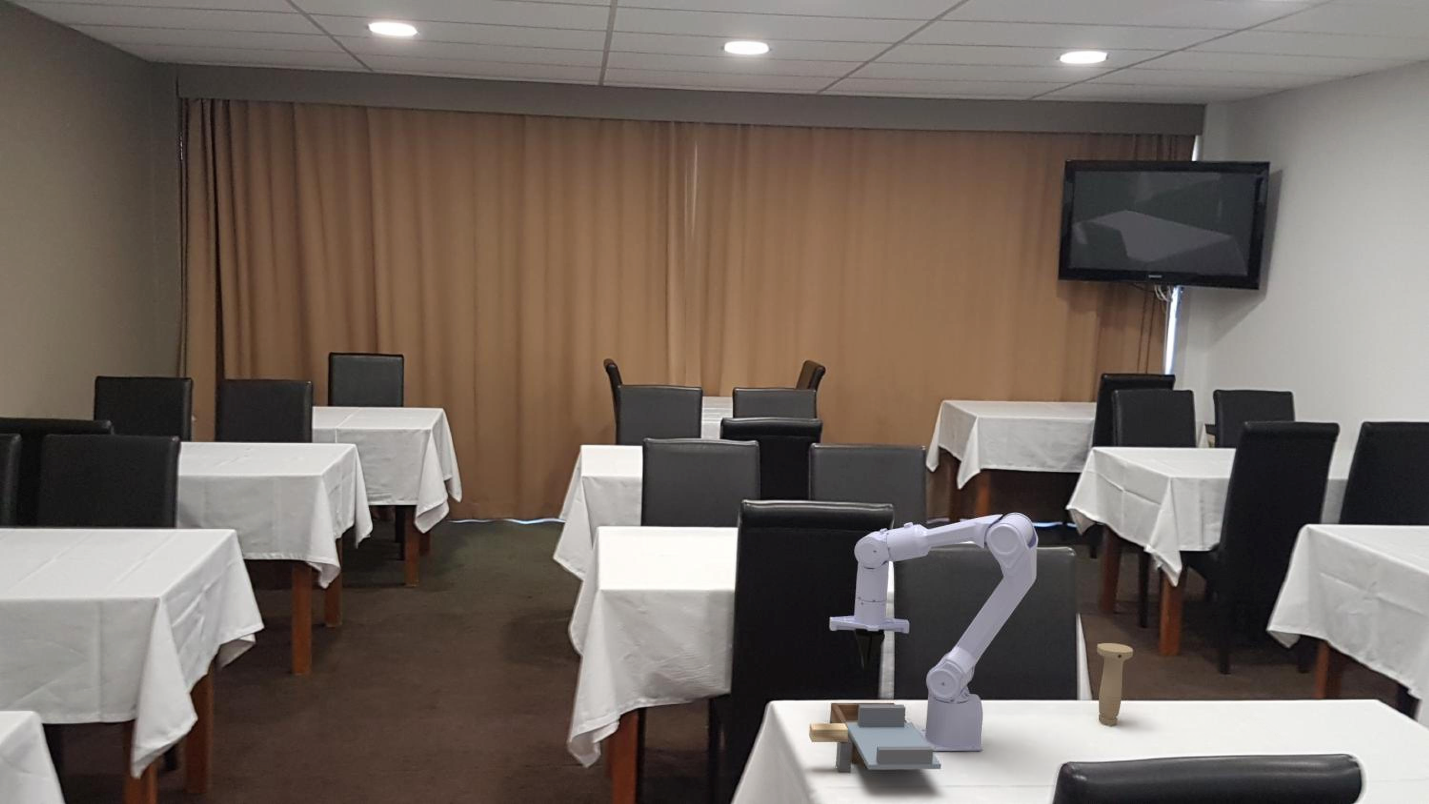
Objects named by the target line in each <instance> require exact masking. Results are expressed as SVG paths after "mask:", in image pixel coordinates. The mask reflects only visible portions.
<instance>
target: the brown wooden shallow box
mask: <svg viewBox="0 0 1429 804" xmlns="http://www.w3.org/2000/svg"><path fill="white" fill-rule="evenodd" d="M859 705H896V703H895V702H831V703H830V714H829V716H830V717H829V723H845V722H857V721H858V707H859ZM905 722H908V721H907V720H906V719H905ZM848 737H850V739H851V741H852V743H853V745H852V759H851V764H865V762H864V760H863V758H862V757H861V755H860V753H859V751H858V749H857V747H856V746H855V744H854V742H853V740H852V738H851V736H850V735H849V733H848Z"/></svg>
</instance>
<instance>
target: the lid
mask: <svg viewBox="0 0 1429 804" xmlns="http://www.w3.org/2000/svg"><path fill="white" fill-rule="evenodd" d="M905 720H906V706H905V705H904V704H895V705H859V707H858V721H857V722H845V725H846V727H847V728H848V733H849V735H850V736H851V738H852V740H853V742H854V744H855V746H856V747H857V749H858V751H859V753H860V755H861V757H862V758H863V760H864V762H865V763H864V764H865V766H866V767H867V769H868V770H941V769H942V763H941V762H940V760H939V759H938V757H937V756H936V754H935V753H934V751H933V749H932V747H931V746H928V745H927V743H926V742H925V740H924V739H923V738H922V736H921V735H920V733H919V732H918V730H919V729H917V727H916V726H915V725H914V724H913V722H911V721H909V722H908V721H907V722H905Z"/></svg>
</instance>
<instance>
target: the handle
mask: <svg viewBox="0 0 1429 804" xmlns="http://www.w3.org/2000/svg"><path fill="white" fill-rule="evenodd" d="M1096 647H1097V648H1096V653H1098V655H1100V656H1101V657H1102V658H1103V660H1104V662H1103V663H1104V664H1103V668H1102V669H1103V670H1102V675H1101V682H1100V688H1099V694H1098V713H1099V714H1098V721H1099V722H1100V723H1101V724H1102V725H1106V726H1109V727H1111V726H1115V725H1117V723H1118V719H1119V718H1118V716H1119V713H1120V709H1121V703H1122V693H1123V670H1124V669H1123V668H1124V667H1123V666H1124V662H1125V661H1126V660H1129V659H1131V658H1133V654H1134V649H1133V648H1132V647H1131V646H1128V645H1126V644H1121V643H1120V644H1119V643H1112V642H1109V643H1108V642H1106V643H1105V642H1104V643H1097V646H1096ZM1114 724H1115V725H1114Z"/></svg>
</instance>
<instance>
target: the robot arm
mask: <svg viewBox="0 0 1429 804" xmlns="http://www.w3.org/2000/svg"><path fill="white" fill-rule="evenodd" d="M1002 516H1003V514H993V515H992V514H991V515H986V516H981V517H977V518H971V519H968V520H962V521H960V522H955V523H951V524H945V525H943V526H937V527H934V528H926V527H925V526H923V525H921V524H914V523H913V522H910V521H909V522H907V523H904V524H903V527H899V528H895V529H889V530H888V529H887V528H881V529H880V530H879V531H873V532H870V533H869V534H867V535H866V536H863V537H862V538H861V539H859V540H858V541H857V542H856V545H855V546H854V556H855V559H856V560H857V562H858V563H857V572H856V585H855V587H856V589H855V600H854V601H855V602H854V613H853V614H854V615H848V616H834V617H833V616H830V617H829V630H830V631H833V632H834V631H835V632H836V631H837V630H839V631H840V630H841V631H842V630H843V631H844V630H845V631H847V630H848V631H853V633H854V636H855V638H856V641H857V644H858V648H859V654H860V659H861V660H860V661H861V667H862V670H864V671H865V670H866V671H870V670H872V667H873V662H874V660H875V657H876V654H878V651H879V649H880V648H881V646H882V644H883V643H884V641H885V639H886V638H885V637H886V636H885V635H886V634H885V632H897V633H898V632H899V633H902V634H909V632H910V623H909V621H908V619H900V618H899V619H898V618H894V617H893V618H891V617H886V616H887V603H888V601H887V600H888V589H889V568H890V562H898V561H906V560H909V559H910V560H911V559H915V558H921V557H926V556H927V555H928V553H929V552H930V550H931V548H935V547H942V546H949V545H955V544H962V543H963V544H964V543H968V542H971V543H974V544H975V545H977V546H978V547H980V548H981V549H985V548H987V547H988V549H989V551H990V552H991V553H992V555H993V557H994V559H995V560H996V561H997V562H998V563H999V565H1000V570H1001V573H1002V575H1003V578H1002V579H1001V581H1000V582H999V584H998V585H997V586H996V587H995V589H994V590H993V592H992V594H991V595H989V597H988V599H987V600H986V602H985V603H984V605H983V606H982V607H981V608H980V610H979V611H978V613H977V615H976V616H975V617H974V618H973V620H972V622H971V623H970V625H968V627H967V629H966V630H965V631H964V633H963V634H962V636H961V637H960V638H959V640H958V641H957V643H956V644H955V645H954V647H952V650H951V651H950V652H947V653H945V654H944V655H943V657H942V658H941V659H940V661H938V663H937V664H936V665H935V666H934V667H931V669H930V670H929V671H928V672H927V675H926V682H925V684H926V687H927V689H928V696H927V697H928V698H927V707H926V708H927V709H926V720H925V721H926V722H925V728H924V729H922V728H921V729H917V730H918V732H919V733H920V735H921V736H922V738H923V739H924V740H925V742H926V743H927V745H928V746H931V747H932V749H933V752H944V751H945V752H954V751H955V752H959V751H960V752H961V751H963V752H967V751H968V752H969V751H975V752H977V751H982V749H983V748H982V746H981V742H982V730H983V719H984V716H983V715H984V710H983V704H982V700H981V698H980V697H979V695H978V694H974V693H970V690H969V687H968V683H969V682H971V681H972V679H973V678H974V674H975V667H976V665H977V663H978V661H980V660H979V659H980V658H981V657H982V655H983V653H984V652H985V651H986V650H987V648H988V647H989V645H990V644H991V643H992V641H993V640H994V638H995V637H996V635H998V633H999V631H1000V630H1001V628H1002V627H1003V626H1004V624H1005V623H1006V621H1008V619H1009V618H1010V616H1011V615H1012V613H1013V612H1014V610H1016V608H1017V607H1018V605H1019V604H1020V602H1022V600H1023V598H1024V597H1025V596H1026V594H1027V593H1028V591H1029V589H1030V588H1031V587H1032V586H1033V584H1034V583H1035V581H1036V579H1037V563H1038V562H1037V553H1038V552H1037V551H1038V550H1037V549H1038V544H1039V537H1038V534H1037V532H1036V529H1035V527H1034V524H1033V522H1032V520H1031V519H1030V518H1029V517H1028V516H1026V515H1024V514H1023V513H1020V512H1012V513H1008V514H1006V515H1004V516H1003V517H1002ZM1001 517H1002V518H1001ZM1000 518H1001V519H1000Z"/></svg>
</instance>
